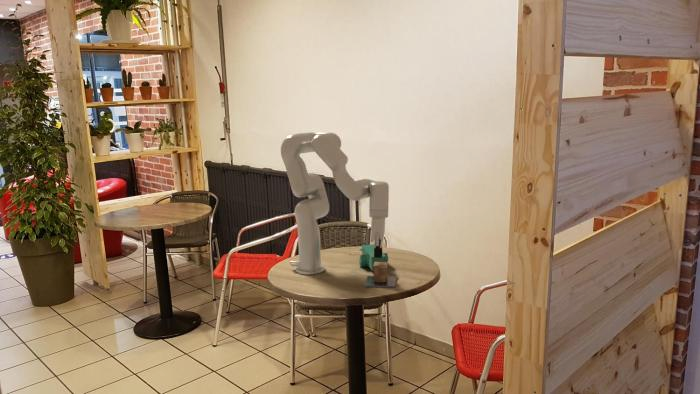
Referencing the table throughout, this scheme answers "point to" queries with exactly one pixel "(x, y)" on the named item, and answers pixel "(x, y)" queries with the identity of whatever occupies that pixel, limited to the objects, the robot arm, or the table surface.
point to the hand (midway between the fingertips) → (378, 257)
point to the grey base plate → (389, 284)
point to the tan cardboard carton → (380, 271)
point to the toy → (370, 256)
